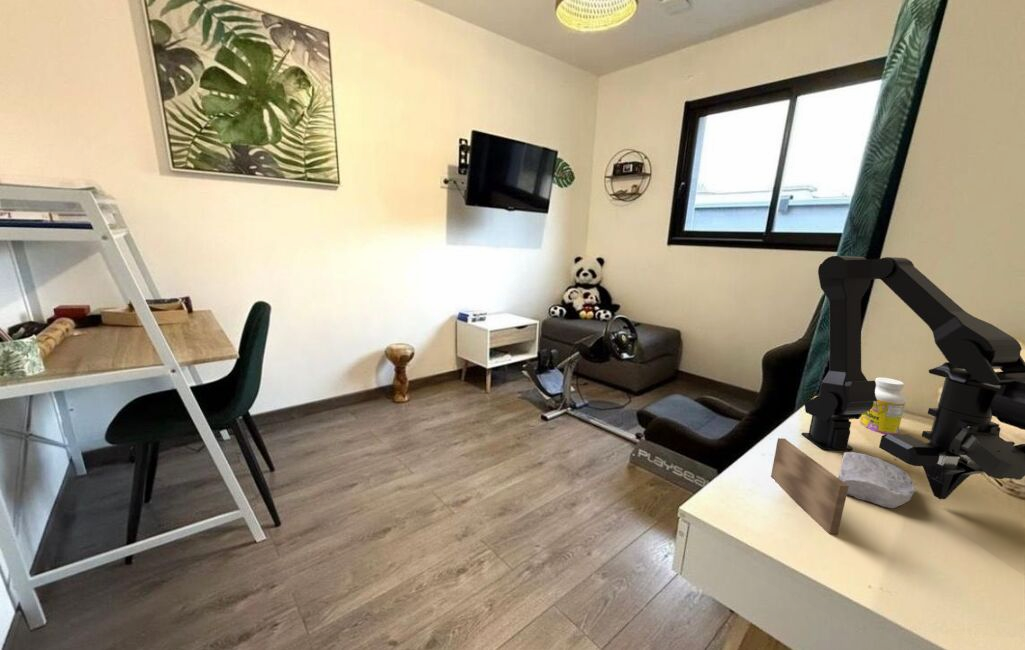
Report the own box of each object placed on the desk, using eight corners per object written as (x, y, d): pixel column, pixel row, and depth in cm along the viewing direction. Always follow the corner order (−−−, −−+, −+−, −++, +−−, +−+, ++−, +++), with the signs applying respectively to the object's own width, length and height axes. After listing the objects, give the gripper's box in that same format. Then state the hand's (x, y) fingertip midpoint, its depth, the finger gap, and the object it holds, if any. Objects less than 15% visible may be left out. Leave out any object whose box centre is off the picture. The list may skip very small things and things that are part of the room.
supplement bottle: (851, 425, 95) (862, 374, 93) (881, 427, 95) (893, 376, 92) (872, 438, 89) (884, 384, 86) (904, 441, 88) (918, 386, 85)
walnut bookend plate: (770, 478, 72) (777, 438, 70) (777, 478, 72) (784, 438, 70) (829, 534, 58) (840, 485, 56) (837, 534, 58) (848, 485, 56)
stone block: (903, 493, 71) (836, 463, 77) (916, 472, 69) (846, 443, 75) (906, 528, 63) (830, 491, 69) (921, 505, 61) (842, 469, 67)
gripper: (961, 431, 54) (932, 530, 57) (1097, 436, 54) (1061, 535, 57) (886, 400, 65) (866, 484, 68) (1000, 404, 65) (974, 488, 68)
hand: (939, 497), depth 65 cm, fingers closed
